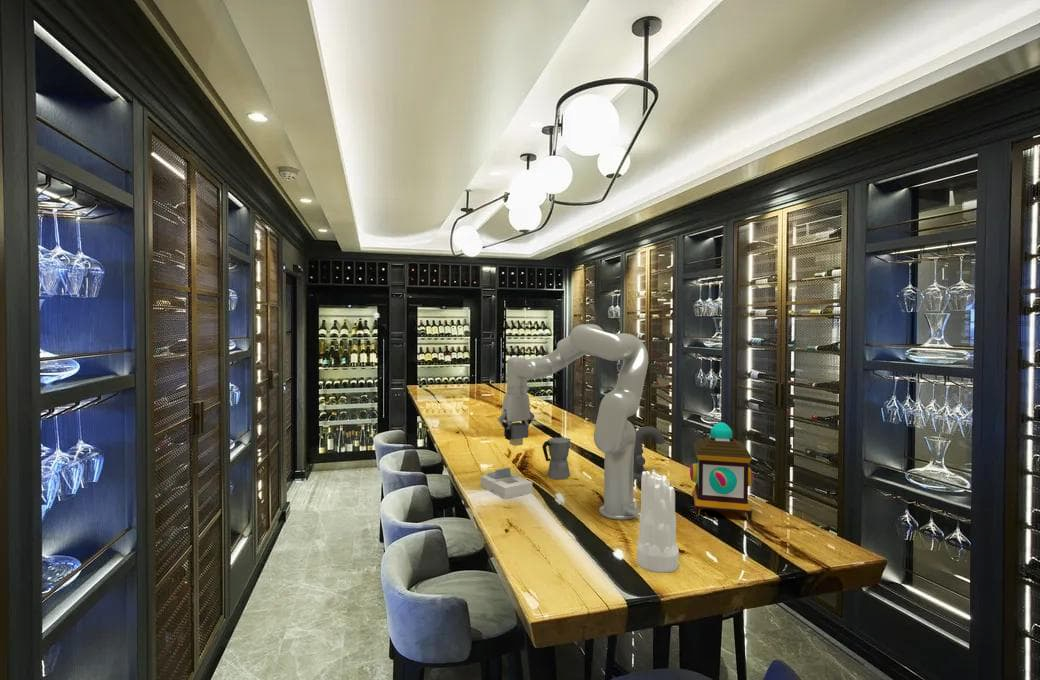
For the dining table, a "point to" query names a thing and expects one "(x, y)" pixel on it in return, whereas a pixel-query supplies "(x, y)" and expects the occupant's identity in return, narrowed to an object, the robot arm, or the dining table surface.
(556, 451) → the coffeepot
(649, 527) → the decorative vase
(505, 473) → the plate
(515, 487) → the socket
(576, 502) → the dining table surface
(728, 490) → the decorative lantern
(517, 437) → the plug
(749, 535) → the dining table surface
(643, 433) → the faucet
